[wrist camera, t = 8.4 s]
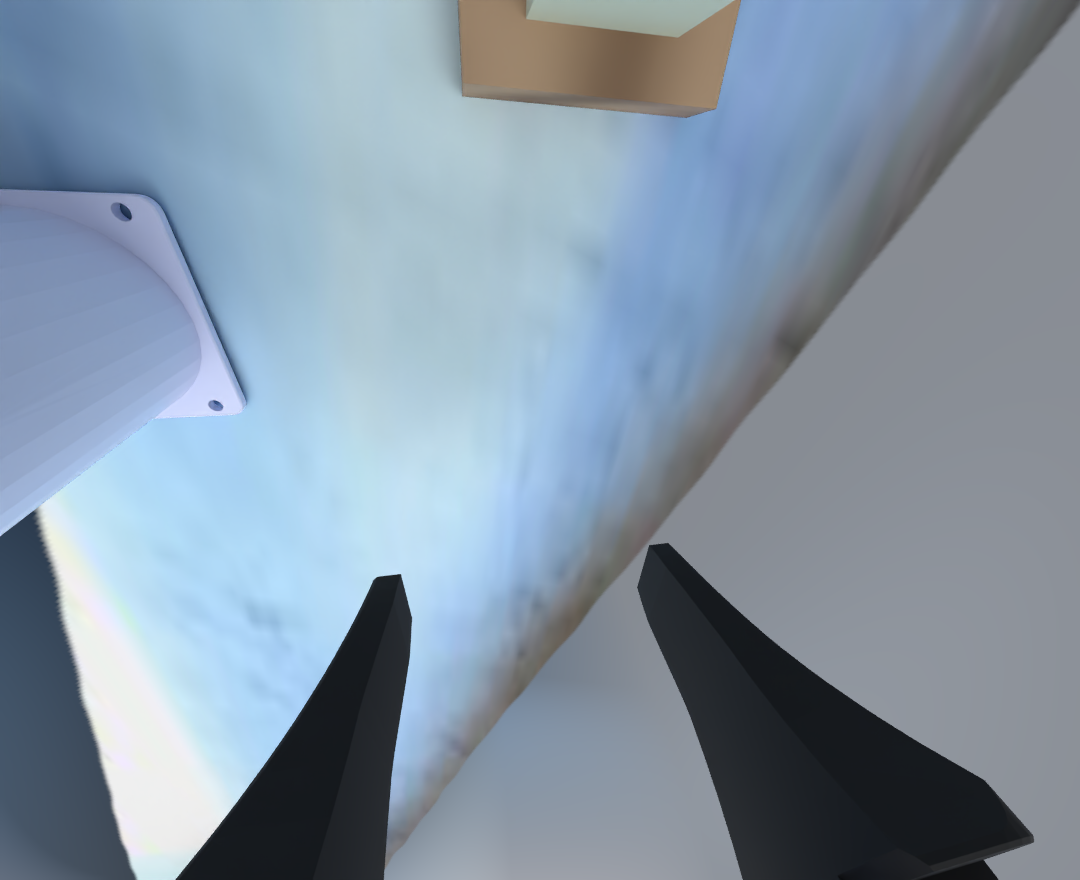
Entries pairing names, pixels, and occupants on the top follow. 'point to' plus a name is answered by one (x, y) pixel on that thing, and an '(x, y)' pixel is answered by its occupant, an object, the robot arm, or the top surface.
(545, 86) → the walnut base block
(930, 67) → the top surface
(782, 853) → the robot arm
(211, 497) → the top surface
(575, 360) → the top surface
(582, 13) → the sage block
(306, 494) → the top surface
